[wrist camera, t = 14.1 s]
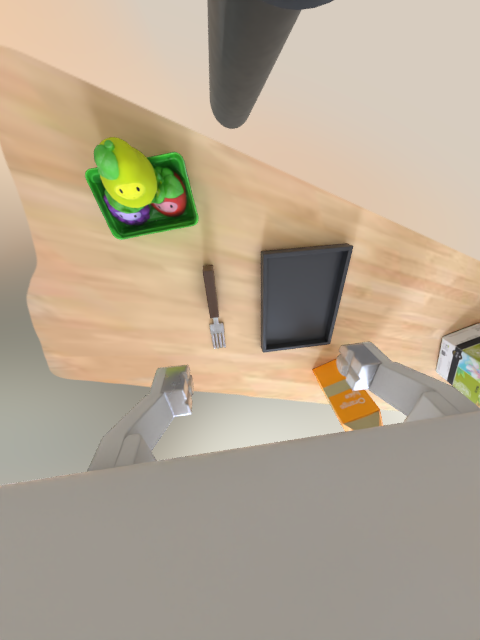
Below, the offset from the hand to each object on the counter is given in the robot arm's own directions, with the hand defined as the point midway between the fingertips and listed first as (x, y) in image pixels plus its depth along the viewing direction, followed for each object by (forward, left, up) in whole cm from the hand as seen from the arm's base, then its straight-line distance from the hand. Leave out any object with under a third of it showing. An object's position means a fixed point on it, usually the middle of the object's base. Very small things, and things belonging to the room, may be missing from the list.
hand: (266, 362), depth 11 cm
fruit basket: (-8, -10, -27) cm, 30 cm away
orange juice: (+35, +24, -27) cm, 50 cm away
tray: (+12, +13, -27) cm, 32 cm away
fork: (+12, -4, -27) cm, 30 cm away
